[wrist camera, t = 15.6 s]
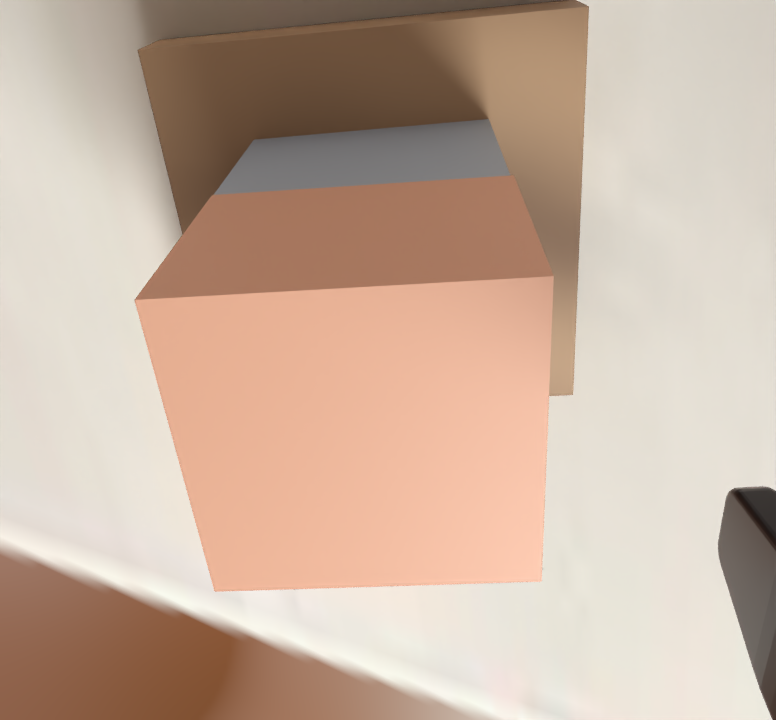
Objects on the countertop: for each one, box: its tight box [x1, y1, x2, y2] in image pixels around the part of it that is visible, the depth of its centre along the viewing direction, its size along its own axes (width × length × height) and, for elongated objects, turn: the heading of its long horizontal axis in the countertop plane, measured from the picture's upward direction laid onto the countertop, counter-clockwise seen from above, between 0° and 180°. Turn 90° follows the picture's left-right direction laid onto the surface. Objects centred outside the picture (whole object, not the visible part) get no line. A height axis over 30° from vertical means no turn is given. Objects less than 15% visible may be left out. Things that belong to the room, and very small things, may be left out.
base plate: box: [138, 0, 589, 396], centre depth 18 cm, size 9×9×2 cm
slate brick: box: [214, 119, 510, 195], centre depth 15 cm, size 5×5×4 cm
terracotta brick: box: [135, 175, 554, 592], centre depth 12 cm, size 5×5×4 cm
